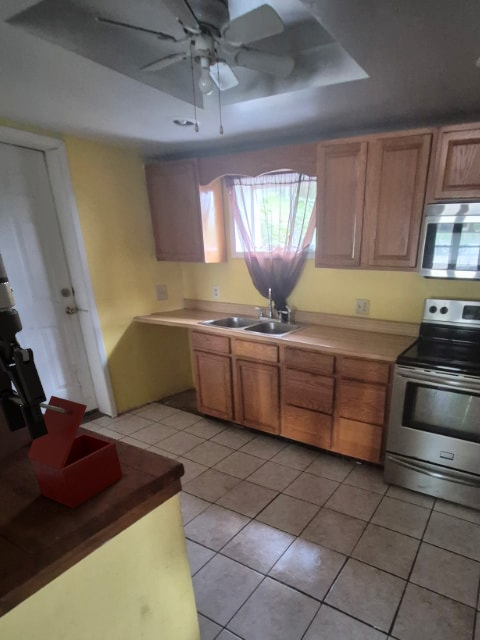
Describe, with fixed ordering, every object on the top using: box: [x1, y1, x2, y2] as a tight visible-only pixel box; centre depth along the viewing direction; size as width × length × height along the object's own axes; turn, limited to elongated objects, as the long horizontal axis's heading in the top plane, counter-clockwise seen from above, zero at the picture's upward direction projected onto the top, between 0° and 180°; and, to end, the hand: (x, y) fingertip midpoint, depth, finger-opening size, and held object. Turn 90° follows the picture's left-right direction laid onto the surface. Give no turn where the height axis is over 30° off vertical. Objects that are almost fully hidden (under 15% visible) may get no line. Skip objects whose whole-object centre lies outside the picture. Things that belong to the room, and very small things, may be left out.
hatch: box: [8, 393, 88, 469], centre depth 72 cm, size 13×10×10 cm
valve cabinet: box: [29, 432, 124, 509], centre depth 82 cm, size 12×10×10 cm
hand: (28, 432), depth 71 cm, fingers closed on hatch, 6 cm apart
